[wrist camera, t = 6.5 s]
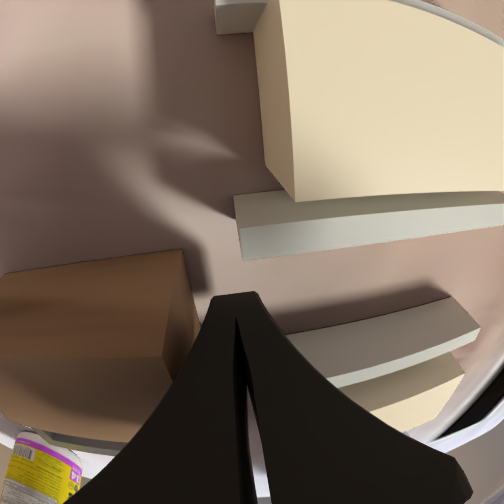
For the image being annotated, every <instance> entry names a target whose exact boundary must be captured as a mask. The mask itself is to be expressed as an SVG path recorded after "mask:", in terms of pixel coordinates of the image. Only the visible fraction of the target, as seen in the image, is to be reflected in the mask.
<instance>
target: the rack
mask: <svg viewBox="0 0 504 504" xmlns="http://www.w3.org/2000/svg"><path fill="white" fill-rule="evenodd" d="M214 14H215V25H216V35H221V34H232V33H247V32H253V36H254V46H255V56H256V66H257V77H258V88H259V99H260V110H261V121H262V133H263V145H264V158H265V166H266V167H267V168H268V169H269V171H270V172H271V173H272V174H273V175H274V177H275V178H276V179H277V180H278V181H279V183H280V184H281V185H282V186H283V188H284V189H285V190H278V191H268V192H259V193H250V194H241V195H233V198H234V207H235V216H236V223H237V229H238V235H239V241H240V247H241V253H242V259H243V261H248V260H256V259H263V258H271V257H279V256H286V255H294V254H301V253H309V252H316V251H324V250H331V249H338V248H346V247H353V246H360V245H368V244H375V243H382V242H389V241H396V240H403V239H411V238H418V237H425V236H432V235H439V234H445V233H452V232H459V231H466V230H473V229H480V228H486V227H493V226H500V225H504V194H503V193H501V192H499V191H504V39H502V38H500V37H499V36H497V35H495V34H493V33H492V32H490V31H488V30H486V29H484V28H483V27H481V26H479V25H477V24H475V23H473V22H471V21H469V20H467V19H465V18H463V17H460V16H458V15H456V14H454V13H452V12H449V11H447V10H444V9H442V8H440V7H437V6H435V5H432V4H429V3H427V2H424V1H421V0H214ZM480 328H481V327H480V326H479V325H478V323H477V322H476V321H475V320H474V319H473V318H472V317H471V316H470V315H469V313H468V312H467V311H466V310H465V309H464V308H463V307H462V306H461V305H460V304H459V303H458V302H457V301H456V300H455V299H454V298H453V296H452V297H449V298H446V299H442V300H439V301H435V302H432V303H428V304H425V305H421V306H418V307H414V308H410V309H407V310H403V311H399V312H395V313H391V314H387V315H383V316H378V317H374V318H370V319H366V320H361V321H357V322H352V323H347V324H342V325H338V326H333V327H328V328H322V329H317V330H312V331H306V332H300V333H295V334H289V335H286V337H287V338H288V339H289V340H290V342H291V343H292V344H293V345H294V346H295V347H296V349H297V350H298V351H299V352H300V353H301V354H302V355H303V356H304V357H305V358H306V359H307V360H308V361H309V362H310V364H311V365H312V366H313V367H314V368H315V369H317V370H318V371H319V372H320V373H321V374H322V375H323V376H324V377H325V378H326V379H327V380H328V381H330V382H331V383H332V384H333V385H334V386H335V387H336V388H338V389H339V390H340V391H341V392H343V393H344V394H345V395H346V396H348V397H349V398H350V399H351V400H353V401H354V402H355V403H357V404H358V405H360V406H361V407H363V408H364V409H365V410H367V411H368V412H370V413H371V414H373V415H374V416H376V417H377V418H379V419H380V420H382V421H383V422H385V423H386V424H388V425H389V426H391V427H393V428H395V429H396V430H398V431H400V432H402V433H403V432H405V431H408V430H410V429H412V428H415V427H417V426H419V425H422V424H424V423H426V422H428V421H430V420H433V419H435V418H436V416H437V415H438V414H439V412H440V411H441V409H442V408H443V407H444V405H445V404H446V402H447V401H448V399H449V398H450V396H451V395H452V393H453V392H454V390H455V389H456V387H457V386H458V384H459V383H460V381H461V379H462V378H463V376H464V374H465V372H464V370H463V369H462V368H461V366H460V365H459V363H458V362H457V361H456V359H455V358H454V356H453V355H452V354H451V352H450V351H452V350H454V349H456V348H459V347H461V346H463V345H465V344H468V343H470V342H472V341H474V340H475V339H476V337H477V335H478V333H479V331H480Z"/></svg>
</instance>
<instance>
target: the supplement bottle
mask: <svg viewBox="0 0 504 504" xmlns="http://www.w3.org/2000/svg"><path fill="white" fill-rule="evenodd" d="M82 468H83V465H82V462H81V460H80V459H79V458H78V457H77V456H76V455H75V454H74V453H73V452H72V451H70V450H69V449H67V448H62V447H57V446H53V445H50V444H48V443H47V442H46V441H45V440H44V439H43V438H42V437H41V436H39V435H38V434H36V433H32V432H20V433H19V434H18V435H17V438H16V441H15V444H14V448H13V451H12V454H11V458H10V461H9V465H8V469H7V473H6V477H5V481H4V485H3V490H2V495H1V500H0V504H63V503H64V502H65V501H66V500H67V499H69V498H70V497H71V496H72V495H74V494H75V493H76V492H77V491H78V490H79V488H80V481H81V475H82Z"/></svg>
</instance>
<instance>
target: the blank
mask: <svg viewBox="0 0 504 504" xmlns="http://www.w3.org/2000/svg"><path fill="white" fill-rule="evenodd" d="M200 329H201V327H200V323H199V319H198V315H197V311H196V307H195V303H194V299H193V295H192V291H191V286H190V282H189V278H188V273H187V269H186V264H185V260H184V255H183V251H182V249H176V250H168V251H161V252H153V253H146V254H139V255H131V256H124V257H117V258H110V259H103V260H96V261H88V262H81V263H75V264H68V265H61V266H54V267H47V268H40V269H34V270H27V271H21V272H14V273H8V274H4V275H3V276H2V277H1V279H0V412H1V413H2V414H3V415H4V416H5V417H6V418H7V419H8V420H9V421H10V422H14V423H17V424H21V425H25V426H28V427H32V428H36V429H41V430H45V431H50V432H54V433H59V434H65V435H70V436H76V437H83V438H89V439H97V440H106V441H115V442H127V443H128V442H129V441H130V440H131V439H132V438H133V437H134V435H135V434H136V433H137V432H138V431H139V429H140V428H141V427H142V426H143V424H144V423H145V422H146V420H147V419H148V418H149V416H150V415H151V414H152V412H153V411H154V410H155V408H156V407H157V406H158V404H159V403H160V401H161V400H162V398H163V397H164V395H165V394H166V392H167V391H168V389H169V388H170V386H171V384H172V383H173V381H174V379H175V378H176V376H177V374H178V372H179V371H180V369H181V367H182V365H183V363H184V361H185V360H186V358H187V356H188V354H189V352H190V350H191V348H192V346H193V344H194V342H195V340H196V337H197V335H198V333H199V331H200Z"/></svg>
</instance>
